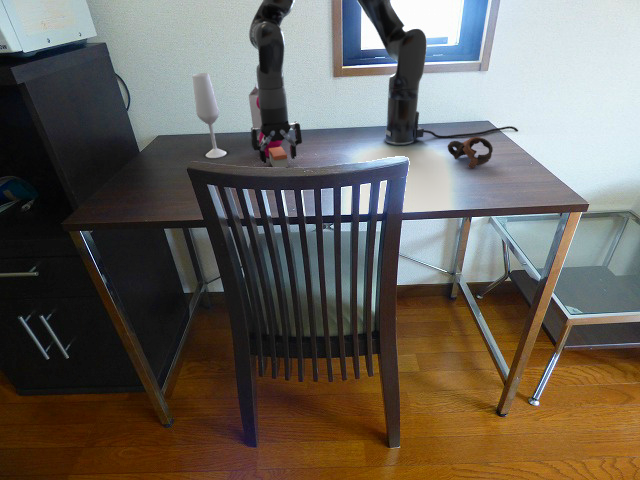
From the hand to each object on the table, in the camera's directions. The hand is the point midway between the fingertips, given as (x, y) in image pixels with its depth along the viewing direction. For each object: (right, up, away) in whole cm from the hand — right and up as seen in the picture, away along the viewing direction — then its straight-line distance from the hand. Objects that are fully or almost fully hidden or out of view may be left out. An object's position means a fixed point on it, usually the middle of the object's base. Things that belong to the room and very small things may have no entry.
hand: (278, 160), depth 114 cm
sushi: (0, -1, +1) cm, 1 cm away
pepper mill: (-3, +4, +9) cm, 10 cm away
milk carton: (-6, +12, +21) cm, 25 cm away
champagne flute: (-21, +4, +10) cm, 24 cm away
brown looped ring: (+55, -1, -3) cm, 55 cm away
